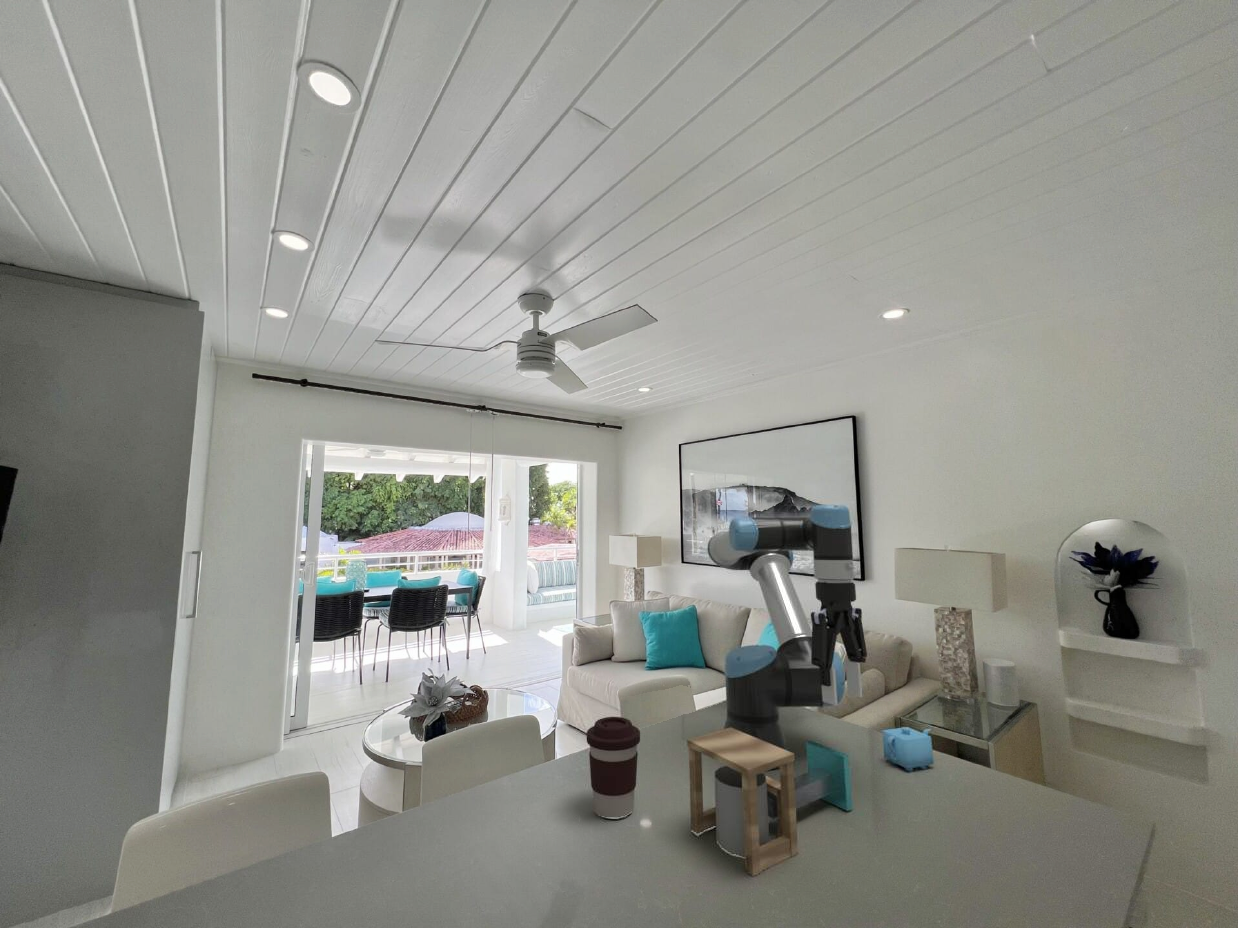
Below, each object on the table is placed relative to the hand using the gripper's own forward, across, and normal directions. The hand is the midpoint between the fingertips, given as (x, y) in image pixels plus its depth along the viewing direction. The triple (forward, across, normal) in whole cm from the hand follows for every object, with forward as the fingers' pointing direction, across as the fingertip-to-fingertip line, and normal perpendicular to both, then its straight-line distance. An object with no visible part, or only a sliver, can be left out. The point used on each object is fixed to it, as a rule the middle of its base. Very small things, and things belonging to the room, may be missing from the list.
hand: (842, 698), depth 100 cm
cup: (+17, -29, 0) cm, 34 cm away
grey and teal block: (+17, -14, 0) cm, 22 cm away
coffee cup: (+17, -41, +20) cm, 49 cm away
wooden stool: (+17, -28, 0) cm, 33 cm away
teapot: (+17, +23, 0) cm, 29 cm away
